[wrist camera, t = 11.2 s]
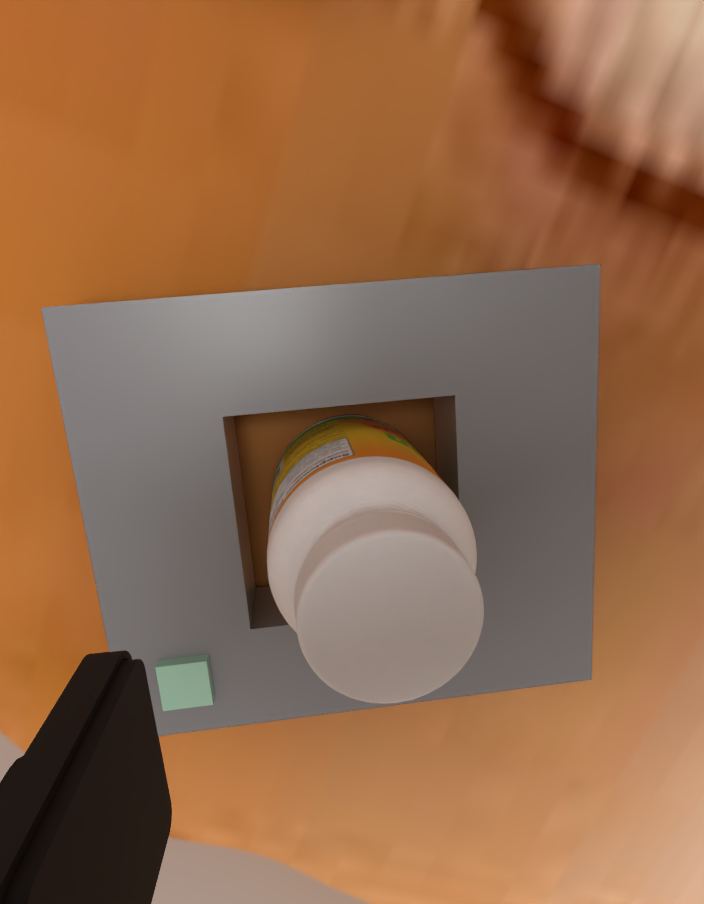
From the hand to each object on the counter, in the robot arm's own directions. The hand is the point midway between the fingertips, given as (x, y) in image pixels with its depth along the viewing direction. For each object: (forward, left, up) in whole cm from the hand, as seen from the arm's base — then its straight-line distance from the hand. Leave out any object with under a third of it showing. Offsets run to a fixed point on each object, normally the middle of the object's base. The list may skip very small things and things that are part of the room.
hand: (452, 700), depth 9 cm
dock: (+1, +1, -13) cm, 13 cm away
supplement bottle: (0, 0, -13) cm, 13 cm away
